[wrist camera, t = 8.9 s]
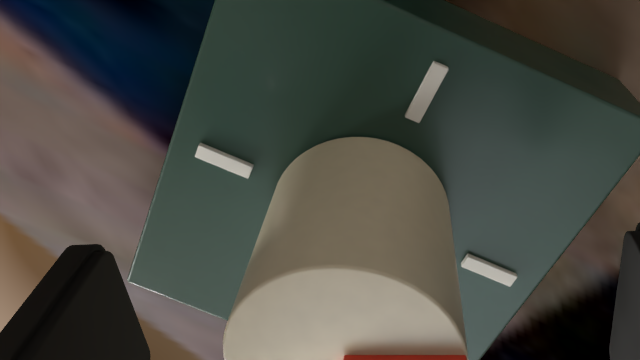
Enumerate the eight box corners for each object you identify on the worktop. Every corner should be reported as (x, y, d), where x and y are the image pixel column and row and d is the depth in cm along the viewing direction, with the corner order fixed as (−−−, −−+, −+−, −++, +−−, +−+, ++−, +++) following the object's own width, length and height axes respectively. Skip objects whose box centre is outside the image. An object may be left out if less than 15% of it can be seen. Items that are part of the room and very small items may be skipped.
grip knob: (285, 287, 17) (241, 458, 12) (259, 141, 15) (193, 279, 10) (451, 284, 16) (470, 465, 11) (447, 130, 14) (471, 274, 9)
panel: (263, -82, 15) (232, -65, 12) (620, 79, 16) (666, 130, 13) (161, 224, 20) (123, 286, 17) (439, 335, 21) (445, 410, 18)
